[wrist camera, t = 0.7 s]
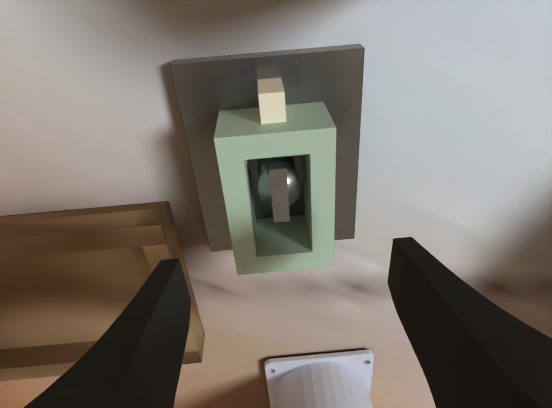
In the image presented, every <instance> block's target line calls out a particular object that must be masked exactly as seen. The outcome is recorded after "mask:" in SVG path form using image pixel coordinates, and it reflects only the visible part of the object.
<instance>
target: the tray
mask: <svg viewBox="0 0 552 408" xmlns="http://www.w3.org/2000/svg"><path fill="white" fill-rule="evenodd" d="M176 258H179V259H180V262H181V266H182V269H183V273H184V277H185V280H186V284H187V287H188V291H189V294H190V298H191V312H190V323H189V331H188V337H187V341H186V346H185V351H184V356H183V361H182V364H190V363H201V362H202V354H203V346H204V338H205V334H204V330H203V327H202V323H201V319H200V316H199V312H198V308H197V304H196V301H195V297H194V293H193V290H192V286H191V282H190V279H189V275H188V271H187V268H186V264H185V260H184V257H183V253H182V249H181V246H180V242H179V238H178V235H177V231H176V227H175V224H174V220H173V216H172V213H171V209H170V205H169V202H168V201H166V202H155V203H144V204H133V205H122V206H111V207H100V208H89V209H77V210H66V211H55V212H44V213H33V214H22V215H11V216H0V381H8V380H18V379H29V378H40V377H51V376H61V375H63V374H64V373H65V372H66V371H67V370H68V369H70V368H71V367H72V366H73V365H74V364H75V363H76V362H77V361H78V360H79V359H80V358H81V357H82V356H83V355H84V354H85V353H86V352H87V351H88V350H89V349H90V348H91V347H92V346H93V345H94V344H95V343H96V342H97V341H98V339H99V338H100V337H101V336H102V335H103V334H104V333H105V332H106V331H107V329H108V328H109V327H110V326H111V325H112V323H113V322H114V321H115V320H116V319H117V318H118V316H119V315H120V314H121V313H122V312H123V310H124V309H125V308H126V306H127V305H128V304H129V303H130V301H131V300H132V299H133V297H134V296H135V295H136V293H137V292H138V291H139V289H140V288H141V287H142V285H143V284H144V283H145V281H146V280H147V278H148V277H149V276H150V274H151V273H152V271H153V270H154V269H155V267H156V266H157V264H158V263H159V262H160V261H161V260H165V259H176Z"/></svg>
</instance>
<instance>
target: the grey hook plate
mask: <svg viewBox="0 0 552 408" xmlns="http://www.w3.org/2000/svg"><path fill="white" fill-rule="evenodd" d="M364 49H365V48H364V47H363V46H362V45H361V44H354V45H342V46H331V47H319V48H308V49H296V50H285V51H274V52H262V53H251V54H239V55H228V56H216V57H205V58H193V59H182V60H173V61H172V63H171V64H170V67H171V72H172V77H173V81H174V86H175V90H176V95H177V100H178V104H179V109H180V113H181V118H182V123H183V127H184V132H185V136H186V141H187V146H188V150H189V155H190V159H191V164H192V169H193V173H194V178H195V182H196V187H197V192H198V196H199V201H200V205H201V210H202V214H203V219H204V224H205V228H206V233H207V237H208V242H209V247H210V251H221V250H232V249H233V246H232V240H231V235H230V229H229V223H228V218H227V212H226V206H225V200H224V195H223V189H222V183H221V177H220V172H219V166H218V160H217V154H216V149H215V143H214V134H215V129H216V125H217V120H218V115H219V111H223V110H234V109H245V108H257V107H259V97H258V81H257V80H258V79H270V78H281V80H282V84H283V88H284V92H285V105H291V104H302V103H313V102H324V104H325V106H326V108H327V110H328V112H329V114H330V116H331V118H332V120H333V122H334V124H335V126H336V171H335V228H334V240H342V239H353V238H354V232H355V214H356V195H357V177H358V159H359V140H360V122H361V104H362V85H363V67H364ZM248 162H249V170H250V178H251V186H252V194H253V202H254V210H255V218H256V219H265V218H274V223H275V222H286V221H290V216H298V215H305V207H304V179H303V155H293V156H282V157H271V158H259V159H248Z"/></svg>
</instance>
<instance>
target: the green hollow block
mask: <svg viewBox="0 0 552 408" xmlns="http://www.w3.org/2000/svg"><path fill="white" fill-rule="evenodd" d="M257 81H258V97H259V107H257V108H245V109H234V110H223V111H219V115H218V120H217V125H216V129H215V134H214V143H215V149H216V154H217V160H218V166H219V172H220V177H221V183H222V189H223V195H224V200H225V206H226V212H227V218H228V223H229V229H230V235H231V240H232V246H233V252H234V258H235V263H236V269H237V275H242V274H253V273H264V272H275V271H286V270H297V269H308V268H319V267H330V266H334V228H335V171H336V126H335V124H334V122H333V120H332V118H331V116H330V114H329V112H328V110H327V108H326V106H325V104H324V102H313V103H302V104H291V105H285V92H284V88H283V84H282V80H281V78H270V79H258V80H257ZM293 155H303V179H304V207H305V215H298V216H290V221H286V222H275V223H274V218H265V219H256V218H255V210H254V202H253V194H252V186H251V178H250V170H249V162H248V159H259V158H271V157H282V156H293Z"/></svg>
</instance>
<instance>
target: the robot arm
mask: <svg viewBox="0 0 552 408" xmlns="http://www.w3.org/2000/svg"><path fill="white" fill-rule="evenodd" d="M388 285H389V289H390V292H391V296H392V299H393V302H394V305H395V309H396V311H397V313H398V316H399V318H400V320H401V323H402V325H403V327H404V329H405V332H406V334H407V336H408V338H409V340H410V343H411V345H412V347H413V349H414V352H415V354H416V356H417V358H418V360H419V363H420V365H421V367H422V369H423V372H424V374H425V377H426V379H427V382H428V384H429V387H430V390H431V393H432V396H433V399H434V402H435V405H436V408H552V338H550V337H548V336H546V335H545V334H543V333H541V332H539V331H537V330H536V329H534V328H532V327H530V326H529V325H527V324H525V323H523V322H522V321H520V320H519V319H517V318H515V317H514V316H512V315H511V314H509V313H508V312H506V311H504V310H503V309H501V308H500V307H498V306H497V305H495V304H494V303H492V302H491V301H489V300H488V299H487V298H485V297H484V296H483V295H481V294H480V293H478V292H477V291H476V290H474V289H473V288H472V287H470V286H469V285H468V284H466V283H465V282H464V281H463V280H461V279H460V278H459V277H458V276H456V275H455V274H454V273H453V272H451V271H450V270H449V269H448V268H447V267H445V266H444V265H443V264H442V263H441V262H440V261H438V260H437V259H436V258H435V257H434V256H433V255H431V254H430V253H429V252H428V251H427V250H426V249H425V248H423V247H422V246H421V245H420V244H419V243H418V242H417V241H416V240H414V239H413V238H412V237H405V238H395V239H393V245H392V252H391V260H390V268H389V276H388ZM190 312H191V298H190V294H189V291H188V287H187V284H186V280H185V277H184V273H183V269H182V266H181V262H180V259H179V258H176V259H165V260H161V261H160V262H159V263H158V264H157V266H156V267H155V269H154V270H153V271H152V273H151V274H150V276H149V277H148V278H147V280H146V281H145V283H144V284H143V285H142V287H141V288H140V289H139V291H138V292H137V293H136V295H135V296H134V297H133V299H132V300H131V301H130V303H129V304H128V305H127V306H126V308H125V309H124V310H123V312H122V313H121V314H120V315H119V316H118V318H117V319H116V320H115V321H114V322H113V323H112V325H111V326H110V327H109V328H108V329H107V331H106V332H105V333H104V334H103V335H102V336H101V337H100V338H99V339H98V341H97V342H96V343H95V344H94V345H93V346H92V347H91V348H90V349H89V350H88V351H87V352H86V353H85V354H84V355H83V356H82V357H81V358H80V359H79V360H78V361H77V362H76V363H75V364H74V365H73V366H72V367H71V368H70V369H68V370H67V371H66V372H65V373H64V374H63V375H62V376H61V377H60V378H58V379H57V380H56V381H55V382H54V383H53V384H52V385H51V386H50V387H48V388H47V389H46V390H45V391H44V392H42V393H41V394H40V395H39V396H38V397H36V398H35V399H34V400H33V401H31V402H30V403H29V404H28V405H26V406H25V407H24V408H173V406H174V400H175V394H176V389H177V385H178V380H179V375H180V370H181V366H182V361H183V356H184V351H185V346H186V341H187V337H188V331H189V323H190ZM373 361H374V355H373V352H372V351H370V350H359V351H348V352H337V353H326V354H316V355H305V356H294V357H284V358H273V359H268V360H266V361H265V363H264V366H265V374H266V381H267V387H268V394H269V401H270V408H373V407H372V403H371V399H370V396H369V395H370V386H371V378H372V369H373Z"/></svg>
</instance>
